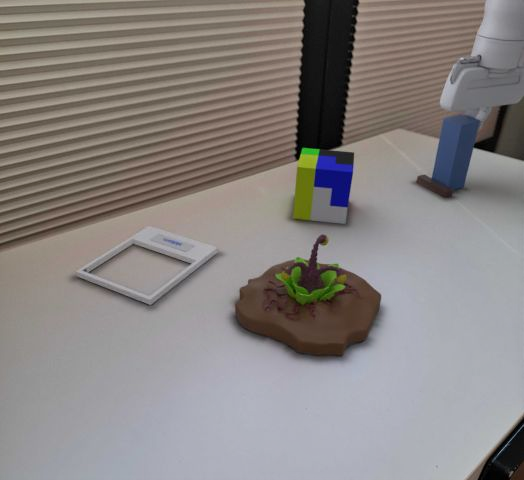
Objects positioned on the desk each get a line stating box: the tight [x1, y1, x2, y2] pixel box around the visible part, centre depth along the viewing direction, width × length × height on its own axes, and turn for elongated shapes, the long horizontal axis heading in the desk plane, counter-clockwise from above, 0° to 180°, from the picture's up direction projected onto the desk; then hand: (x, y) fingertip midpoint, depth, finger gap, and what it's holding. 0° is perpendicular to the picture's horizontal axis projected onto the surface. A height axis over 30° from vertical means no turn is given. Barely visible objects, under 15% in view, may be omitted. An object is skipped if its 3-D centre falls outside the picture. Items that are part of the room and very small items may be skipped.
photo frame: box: [75, 225, 219, 306], centre depth 83 cm, size 15×1×18 cm
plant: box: [234, 234, 382, 357], centre depth 72 cm, size 20×20×11 cm
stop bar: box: [416, 174, 455, 199], centre depth 110 cm, size 2×9×2 cm, turn 29°
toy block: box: [431, 113, 480, 191], centre depth 107 cm, size 5×5×14 cm
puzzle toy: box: [292, 147, 355, 225], centre depth 97 cm, size 10×10×10 cm
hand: (472, 129), depth 105 cm, fingers closed
